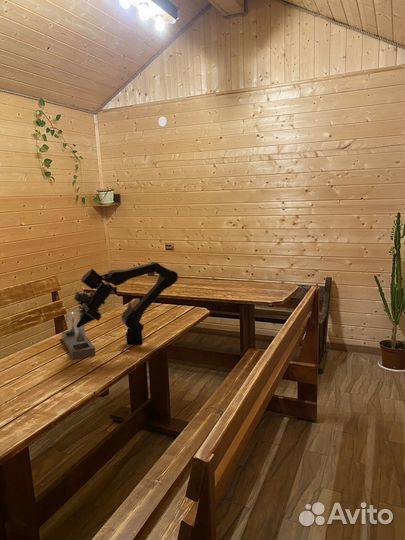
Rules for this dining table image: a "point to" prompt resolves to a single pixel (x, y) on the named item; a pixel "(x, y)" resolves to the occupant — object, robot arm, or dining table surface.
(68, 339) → the twin nest fixture
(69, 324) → the billet
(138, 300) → the tin
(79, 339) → the cylinder
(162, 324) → the dining table surface
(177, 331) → the dining table surface
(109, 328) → the dining table surface
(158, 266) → the robot arm
